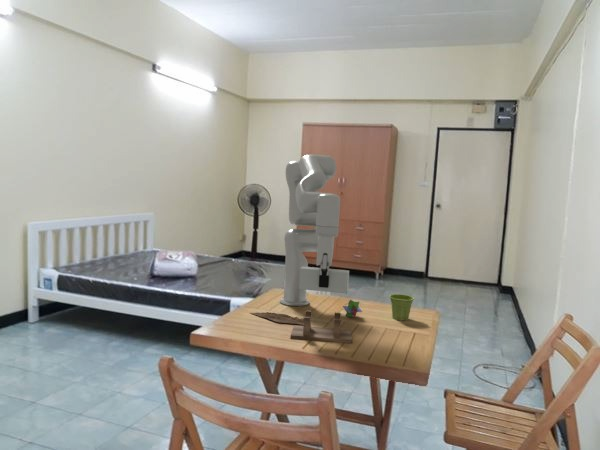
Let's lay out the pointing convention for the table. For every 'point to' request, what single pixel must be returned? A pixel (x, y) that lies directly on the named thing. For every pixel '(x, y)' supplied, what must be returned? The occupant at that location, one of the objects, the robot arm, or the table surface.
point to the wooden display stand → (321, 331)
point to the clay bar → (336, 280)
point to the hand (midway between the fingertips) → (323, 285)
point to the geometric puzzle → (352, 308)
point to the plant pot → (401, 306)
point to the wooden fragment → (281, 318)
